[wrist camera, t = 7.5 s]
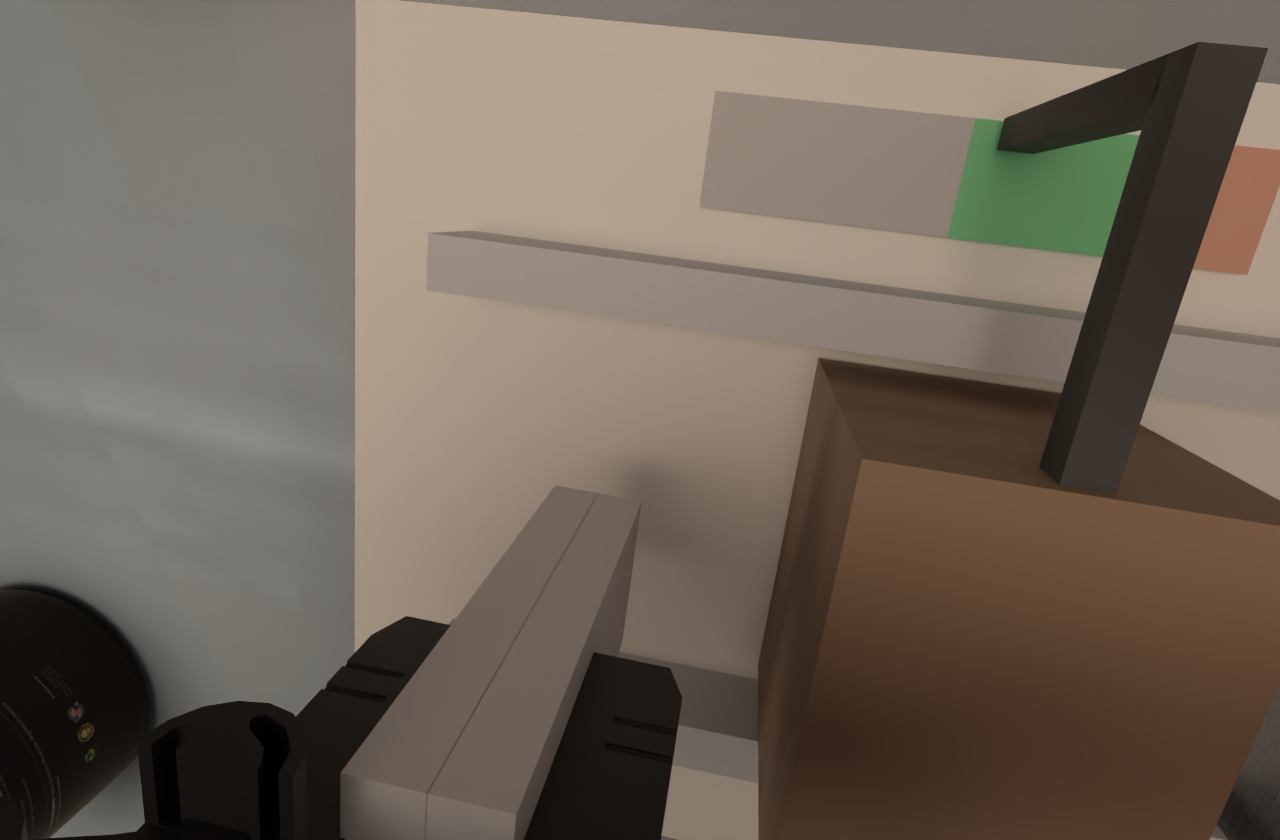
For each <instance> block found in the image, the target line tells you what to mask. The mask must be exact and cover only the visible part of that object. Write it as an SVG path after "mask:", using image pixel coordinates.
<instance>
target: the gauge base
mask: <svg viewBox="0 0 1280 840" xmlns="http://www.w3.org/2000/svg"><path fill="white" fill-rule="evenodd" d="M1124 71H1126V70H1123V69H1113V68H1102V67H1092V66H1081V65H1071V64H1060V63H1050V62H1039V61H1029V60H1018V59H1008V58H997V57H987V56H976V55H966V54H955V53H945V52H934V51H924V50H913V49H903V48H892V47H882V46H871V45H861V44H850V43H840V42H829V41H819V40H808V39H798V38H787V37H777V36H766V35H756V34H745V33H735V32H725V31H714V30H704V29H693V28H683V27H672V26H662V25H651V24H641V23H630V22H620V21H609V20H599V19H588V18H578V17H567V16H557V15H546V14H536V13H525V12H515V11H504V10H494V9H483V8H473V7H462V6H452V5H441V4H431V3H420V2H410V1H399V0H356V209H355V652H356V651H357V650H358V649H359V648H360V647H361V646H362V645H363V643H364V642H365V641H366V640H367V639H368V638H369V637H370V636H371V635H372V634H374V633H376V632H378V631H379V630H381V629H383V628H385V627H387V626H389V625H391V624H392V623H394V622H396V621H398V620H400V619H402V618H404V617H405V616H409V617H414V618H419V619H424V620H429V621H433V622H438V623H443V624H448V625H451V624H452V623H453V622H454V620H455V619H456V618H457V616H458V615H459V614H460V612H461V611H462V610H463V608H464V607H465V606H466V604H467V603H468V602H469V600H470V599H471V598H472V596H473V595H474V594H475V592H476V591H477V589H478V588H479V587H480V585H481V584H482V583H483V581H484V580H485V579H486V577H487V576H488V575H489V573H490V572H491V571H492V569H493V568H494V567H495V565H496V564H497V563H498V561H499V560H500V559H501V557H502V556H503V555H504V553H505V552H506V551H507V549H508V548H509V547H510V545H511V544H512V543H513V541H514V540H515V539H516V537H517V536H518V535H519V533H520V532H521V531H522V529H523V528H524V527H525V525H526V524H527V523H528V521H529V520H530V519H531V517H532V516H533V515H534V513H535V512H536V510H537V509H538V508H539V506H540V505H541V504H542V502H543V501H544V500H545V498H546V497H547V496H548V494H549V493H550V492H551V490H552V489H553V488H554V486H555V485H557V486H562V487H568V488H573V489H579V490H584V491H590V492H595V493H601V494H606V495H612V496H617V497H623V498H628V499H634V500H639V501H642V504H641V511H640V519H639V526H638V533H637V540H636V547H635V554H634V562H633V569H632V576H631V583H630V590H629V597H628V605H627V612H626V619H625V626H624V633H623V640H622V644H621V647H620V650H619V653H618V657H620V658H625V659H629V660H634V661H639V662H644V663H649V664H654V665H658V666H663V667H668V668H670V669H671V671H672V673H673V676H674V678H675V681H676V683H677V686H678V688H679V691H680V693H681V696H682V704H681V711H680V717H679V724H678V730H677V737H676V743H675V750H674V757H673V763H672V770H671V776H670V783H669V789H668V796H667V802H666V809H665V816H664V822H663V829H662V835H661V836H664V837H668V838H673V839H677V840H758V663H759V658H760V653H761V648H762V643H763V638H764V632H765V627H766V622H767V617H768V612H769V607H770V602H771V597H772V592H773V587H774V582H775V577H776V571H777V566H778V561H779V556H780V551H781V546H782V541H783V536H784V531H785V526H786V521H787V516H788V510H789V505H790V500H791V495H792V490H793V485H794V480H795V475H796V470H797V465H798V460H799V454H800V449H801V444H802V439H803V434H804V429H805V424H806V419H807V414H808V409H809V404H810V399H811V393H812V388H813V383H814V378H815V373H816V368H817V363H818V358H823V359H829V360H836V361H843V362H850V363H857V364H863V365H870V366H877V367H884V368H891V369H898V370H904V371H911V372H918V373H925V374H932V375H939V376H945V377H952V378H959V379H966V380H973V381H980V382H986V383H993V384H1000V385H1007V386H1014V387H1021V388H1027V389H1034V390H1041V391H1048V392H1055V393H1062V390H1063V386H1064V383H1065V380H1066V377H1067V373H1068V370H1069V367H1070V363H1071V360H1072V357H1073V353H1074V350H1075V347H1076V344H1077V340H1078V337H1079V334H1080V330H1081V327H1082V324H1083V321H1084V317H1085V314H1086V311H1087V307H1088V304H1089V301H1090V297H1091V294H1092V291H1093V288H1094V284H1095V281H1096V278H1097V274H1098V271H1099V268H1100V265H1101V261H1102V258H1103V255H1104V251H1105V248H1106V245H1107V241H1108V238H1109V235H1110V232H1111V228H1112V225H1113V222H1114V218H1115V215H1116V212H1117V208H1118V205H1119V202H1120V199H1121V195H1122V192H1123V189H1124V185H1125V182H1126V179H1127V176H1128V172H1129V169H1130V166H1131V162H1132V159H1133V156H1134V152H1135V149H1136V146H1137V143H1138V139H1139V136H1140V133H1141V130H1140V131H1135V132H1131V133H1126V134H1122V135H1117V136H1113V137H1108V138H1104V139H1099V140H1095V141H1090V142H1086V143H1081V144H1077V145H1072V146H1068V147H1063V148H1059V149H1054V150H1050V151H1045V152H1041V153H1036V154H1029V153H1020V152H1011V151H1002V150H997V147H998V143H999V139H1000V135H1001V131H1002V127H1003V123H1004V119H1005V118H1006V117H1009V116H1012V115H1014V114H1017V113H1019V112H1022V111H1024V110H1027V109H1029V108H1032V107H1034V106H1037V105H1040V104H1042V103H1045V102H1047V101H1050V100H1052V99H1055V98H1057V97H1060V96H1062V95H1065V94H1068V93H1070V92H1073V91H1075V90H1078V89H1080V88H1083V87H1085V86H1088V85H1090V84H1093V83H1096V82H1098V81H1101V80H1103V79H1106V78H1108V77H1111V76H1113V75H1116V74H1118V73H1121V72H1124ZM1140 425H1142V426H1144V427H1146V428H1148V429H1150V430H1151V431H1153V432H1155V433H1157V434H1159V435H1161V436H1162V437H1164V438H1166V439H1168V440H1170V441H1172V442H1173V443H1175V444H1177V445H1179V446H1181V447H1183V448H1184V449H1186V450H1188V451H1190V452H1192V453H1194V454H1195V455H1197V456H1199V457H1201V458H1203V459H1205V460H1206V461H1208V462H1210V463H1212V464H1214V465H1216V466H1217V467H1219V468H1221V469H1223V470H1225V471H1227V472H1228V473H1230V474H1232V475H1234V476H1236V477H1238V478H1239V479H1241V480H1243V481H1245V482H1247V483H1249V484H1250V485H1252V486H1254V487H1256V488H1258V489H1260V490H1261V491H1263V492H1265V493H1267V494H1269V495H1271V496H1272V497H1274V498H1276V499H1278V500H1280V84H1270V83H1259V82H1256V85H1255V88H1254V91H1253V94H1252V97H1251V100H1250V102H1249V105H1248V108H1247V111H1246V114H1245V117H1244V120H1243V123H1242V126H1241V129H1240V132H1239V135H1238V138H1237V141H1236V143H1235V146H1234V149H1233V152H1232V155H1231V158H1230V161H1229V164H1228V167H1227V170H1226V173H1225V176H1224V179H1223V182H1222V184H1221V187H1220V190H1219V193H1218V196H1217V199H1216V202H1215V205H1214V208H1213V211H1212V214H1211V217H1210V220H1209V223H1208V226H1207V228H1206V231H1205V234H1204V237H1203V240H1202V243H1201V246H1200V249H1199V252H1198V255H1197V258H1196V261H1195V264H1194V267H1193V269H1192V272H1191V275H1190V278H1189V281H1188V284H1187V287H1186V290H1185V293H1184V296H1183V299H1182V302H1181V305H1180V308H1179V310H1178V313H1177V316H1176V319H1175V322H1174V325H1173V328H1172V331H1171V334H1170V337H1169V340H1168V343H1167V346H1166V349H1165V351H1164V354H1163V357H1162V360H1161V363H1160V366H1159V369H1158V372H1157V375H1156V378H1155V381H1154V384H1153V387H1152V390H1151V392H1150V395H1149V398H1148V401H1147V404H1146V407H1145V410H1144V413H1143V416H1142V419H1141V422H1140ZM1210 840H1228V839H1227V837H1226V836H1225V835H1224V833H1223V832H1222V831H1221V830H1220V828H1219V827H1218V826H1217V824H1216V827H1215V829H1214V831H1213V833H1212V835H1211V838H1210Z"/></svg>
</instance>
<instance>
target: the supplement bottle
mask: <svg viewBox="0 0 1280 840" xmlns="http://www.w3.org/2000/svg"><path fill="white" fill-rule="evenodd" d="M147 722H148V703H147V696H146V691H145V687H144V684H143V681H142V678H141V675H140V673H139V671H138V669H137V667H136V665H135V663H134V661H133V660H132V658H131V656H130V655H129V653H128V652H127V650H126V649H125V648H124V646H123V645H122V644H121V643H120V641H119V640H118V639H117V638H116V637H115V636H114V635H113V634H112V633H111V632H110V631H109V630H108V629H107V628H106V627H105V626H104V625H103V624H102V623H100V622H99V621H98V620H97V619H96V618H94V617H93V616H91V615H90V614H89V613H87V612H86V611H84V610H82V609H81V608H79V607H77V606H75V605H73V604H72V603H70V602H67V601H65V600H63V599H60V598H58V597H55V596H52V595H49V594H45V593H41V592H36V591H30V590H19V589H7V590H0V796H3V797H6V798H9V799H12V800H13V801H14V802H15V804H16V805H17V806H18V808H19V809H20V811H21V812H22V813H23V815H24V816H25V822H26V828H27V834H28V840H30V839H47V838H50V837H51V836H52V835H53V834H55V833H56V832H57V831H58V830H59V829H60V828H61V827H62V826H63V825H65V824H66V823H67V822H68V821H69V820H70V819H71V818H72V817H73V816H74V815H76V814H77V813H78V812H79V811H80V810H81V809H82V808H83V807H84V806H86V805H87V804H88V803H89V802H90V801H91V800H92V799H93V798H94V797H95V796H97V795H98V794H99V792H101V791H102V790H103V789H104V788H105V787H106V786H107V785H108V784H109V783H110V782H112V781H113V780H114V779H115V778H116V777H117V776H118V775H119V774H120V773H121V772H122V771H123V770H124V769H125V768H126V767H127V766H128V765H129V763H130V762H131V761H132V760H133V758H134V757H135V755H136V754H137V752H138V743H137V740H139V739H140V738H142V737H143V736H145V733H146V728H147Z"/></svg>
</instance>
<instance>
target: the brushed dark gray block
mask: <svg viewBox="0 0 1280 840" xmlns="http://www.w3.org/2000/svg"><path fill="white" fill-rule="evenodd" d="M1217 826H1218V827H1219V828H1220V830H1221V831H1222V832H1223V833H1224V835H1225V836H1226V837H1227V839H1228V840H1280V685H1279V688H1278V690H1277V692H1276V694H1275V696H1274V699H1273V701H1272V703H1271V705H1270V707H1269V710H1268V712H1267V714H1266V716H1265V718H1264V721H1263V723H1262V725H1261V727H1260V730H1259V732H1258V734H1257V736H1256V738H1255V741H1254V743H1253V745H1252V747H1251V749H1250V752H1249V754H1248V756H1247V758H1246V760H1245V763H1244V765H1243V767H1242V769H1241V771H1240V774H1239V776H1238V778H1237V780H1236V782H1235V785H1234V787H1233V789H1232V791H1231V794H1230V796H1229V798H1228V800H1227V802H1226V805H1225V807H1224V809H1223V811H1222V813H1221V816H1220V818H1219V820H1218V822H1217Z"/></svg>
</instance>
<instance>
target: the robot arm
mask: <svg viewBox="0 0 1280 840" xmlns="http://www.w3.org/2000/svg"><path fill="white" fill-rule="evenodd" d="M641 504H642V501H639V500H634V499H628V498H623V497H617V496H612V495H606V494H601V493H595V492H590V491H584V490H579V489H573V488H568V487H562V486H557V485H555V486H554V488H553V489H552V490H551V492H550V493H549V494H548V496H547V497H546V498H545V500H544V501H543V502H542V504H541V505H540V506H539V508H538V509H537V510H536V512H535V513H534V515H533V516H532V517H531V519H530V520H529V521H528V523H527V524H526V525H525V527H524V528H523V529H522V531H521V532H520V533H519V535H518V536H517V537H516V539H515V540H514V541H513V543H512V544H511V545H510V547H509V548H508V549H507V551H506V552H505V553H504V555H503V556H502V557H501V559H500V560H499V561H498V563H497V564H496V565H495V567H494V568H493V569H492V571H491V572H490V573H489V575H488V576H487V577H486V579H485V580H484V581H483V583H482V584H481V585H480V587H479V588H478V589H477V591H476V592H475V594H474V595H473V596H472V598H471V599H470V600H469V602H468V603H467V604H466V606H465V607H464V608H463V610H462V611H461V612H460V614H459V615H458V616H457V618H456V619H455V620H454V622H453V623H452V624H451V625H448V624H443V623H438V622H433V621H429V620H424V619H419V618H414V617H409V616H405V617H404V618H402V619H400V620H398V621H396V622H394V623H392V624H391V625H389V626H387V627H385V628H383V629H381V630H379V631H378V632H376V633H374V634H372V635H371V636H370V637H369V638H368V639H367V640H366V641H365V642H364V643H363V645H362V646H361V647H360V648H359V649H358V650H357V651H356V652H355V653H354V654H353V655H352V657H351V658H350V659H349V660H348V661H347V665H346V667H344V666H342V667H341V668H340V670H339V671H338V672H337V673H336V674H335V675H334V676H333V677H332V678H331V679H330V680H329V682H328V683H327V686H326V688H325V690H324V689H321V690H320V691H319V692H318V693H317V695H316V696H315V697H314V698H313V699H312V700H311V701H310V702H309V703H308V704H307V705H306V707H305V708H304V709H303V710H302V711H301V712H300V713H299V714H298V715H297V716H296V717H295V716H294V714H293V713H291V712H289V711H286V710H284V709H281V708H279V707H277V706H274V705H272V704H270V703H259V702H246V701H235V702H229V703H223V704H216V705H210V706H204V707H201V708H198V709H196V710H193V711H191V712H188V713H185V714H183V715H180V716H178V717H175V718H172V719H170V720H168V721H166V722H165V723H163V724H161V725H160V726H158V727H157V728H155V729H154V730H152V731H151V732H149V733H148V734H146V735H145V736H143V737H142V738H140V739H139V740H137V743H138V754H139V764H140V774H141V785H142V795H143V805H144V816H145V823H144V824H143V825H142V826H141V827H140V828H139V829H138V830H137V831H136V832H130V833H123V834H116V835H100V836H82V837H65V838H47V839H30V840H661V835H662V829H663V822H664V816H665V809H666V802H667V796H668V789H669V783H670V776H671V770H672V763H673V757H674V750H675V743H676V737H677V730H678V724H679V717H680V711H681V704H682V696H681V693H680V691H679V688H678V686H677V683H676V681H675V678H674V676H673V673H672V671H671V669H670V668H668V667H663V666H658V665H654V664H649V663H644V662H639V661H634V660H629V659H625V658H620V657H618V653H619V650H620V647H621V644H622V640H623V633H624V626H625V619H626V612H627V605H628V597H629V590H630V583H631V576H632V569H633V562H634V554H635V547H636V540H637V533H638V526H639V519H640V511H641ZM0 840H28V834H27V828H26V822H25V816H24V815H23V813H22V812H21V811H20V809H19V808H18V806H17V805H16V804H15V802H14V801H13V800H12V799H9V798H6V797H3V796H0Z"/></svg>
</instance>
